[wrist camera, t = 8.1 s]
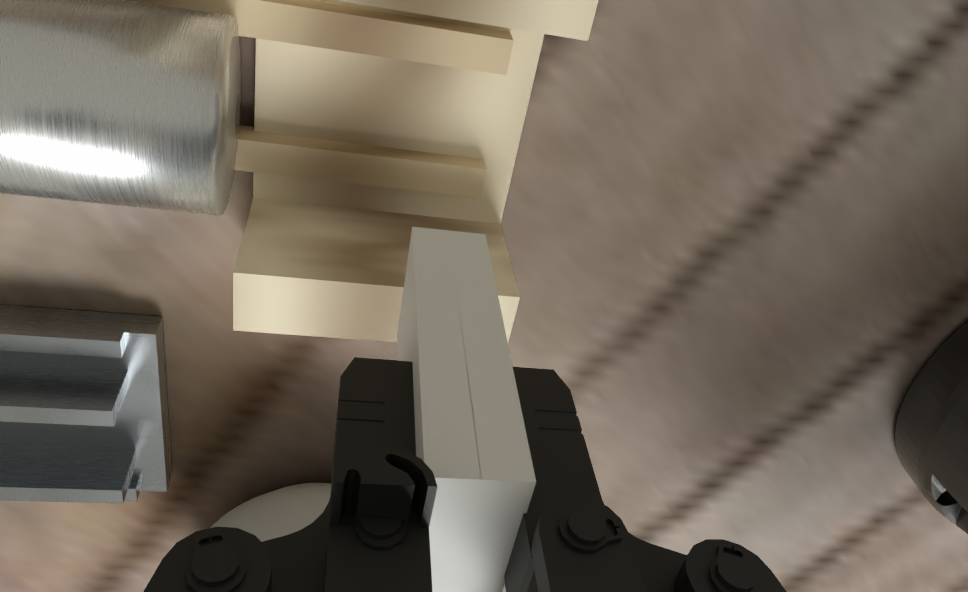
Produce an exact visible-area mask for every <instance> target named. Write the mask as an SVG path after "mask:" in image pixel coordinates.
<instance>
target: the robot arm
mask: <svg viewBox="0 0 968 592" xmlns="http://www.w3.org/2000/svg"><path fill="white" fill-rule="evenodd" d="M581 431H582V429H581V426H580V422H579V419H578V416H576V408H575V405H574V402H573V398H572V395H571V391H570V389H569V388H568V387H567V386H566V384H565V383H564V382H563V381H562V380H561V378H560V377H559V376H558V375H557V374H556V372H555V371H554V370H549V369H535V368H521V367H513V366H512V361H511V357H510V352H509V347H508V342H507V337H506V332H505V327H504V322H503V318H502V313H501V308H500V303H499V298H498V293H497V288H496V283H495V279H494V274H493V269H492V264H491V259H490V254H489V249H488V244H487V240H486V235H485V234H478V233H468V232H459V231H449V230H439V229H430V228H420V227H412V232H411V239H410V246H409V253H408V260H407V267H406V274H405V281H404V289H403V296H402V303H401V310H400V317H399V324H398V331H397V361H396V360H382V359H368V358H354V359H353V360H352V362H351V363H350V365H349V366H348V367H347V369H346V370H345V371H344V373H343V374H342V376H341V379H340V389H339V400H338V411H337V421H336V432H335V443H334V456H333V468H332V481H331V493H330V500H329V503H328V504H327V506H326V508H325V509H324V511H323V513H322V514H321V515H320V516H319V517H318V518H317V519H316V520H315V521H314V522H313V523H311V524H309V525H308V526H306V527H305V528H303V529H301V530H299V531H297V532H294V533H291V534H288V535H286V536H282V537H278V538H274V539H270V540H266V541H262V542H261V541H260V540H259V539H258V538H257V537H256V536H255V535H253V534H251V533H249V532H246V531H244V530H242V529H239V528H232V527H213V528H209V529H205V530H201V531H197V532H194V533H193V534H191V535H189V536H188V537H186V538H184V539H182V540H181V541H179V542H177V543H176V544H175V545H174V547H173V548H172V549H171V550H170V551H169V552H168V553H167V555H166V556H165V557H164V558H163V559H162V561H161V563H160V565H159V566H158V568H157V570H156V571H155V573H154V575H153V577H152V578H151V580H150V582H149V583H148V585H147V587H146V588H145V590H144V592H502V590H503V587H504V584H505V587H506V592H786V590H785V589H784V588H783V586H782V585H781V584H780V582H779V581H778V579H777V578H776V577H775V575H774V574H773V573H772V571H771V570H770V569H769V568H768V567H767V566H766V565H765V564H764V562H763V561H762V560H761V559H760V558H759V557H758V556H757V555H755V554H754V553H752V552H750V551H749V550H747V549H746V548H744V547H743V546H741V545H738V544H735V543H732V542H729V541H726V540H704V541H702V542H700V543H698V544H696V545H694V546H693V547H692V549H691V550H690V552H689V554H688V555H684V554H681V553H678V552H675V551H672V550H669V549H665V548H662V547H659V546H656V545H653V544H650V543H648V542H645V541H643V540H641V539H638V538H636V537H635V536H633V535H632V534H630V533H628V531H627V529H626V527H625V526H624V524H623V522H622V520H621V519H620V518H619V517H618V516H617V515H616V514H615V513H614V512H613V511H612V510H611V509H610V508H609V507H607V506H605V505H604V503H603V501H602V498H601V495H600V491H599V488H598V484H597V481H596V477H595V474H594V471H593V467H592V464H591V460H590V457H589V453H588V450H587V446H586V443H585V439H584V436H583V434H581ZM895 446H896V451H897V454H898V457H899V460H900V462H901V464H902V466H903V467H904V469H905V470H906V472H907V473H908V474H909V476H910V477H911V478H912V480H913V481H914V482H915V484H916V485H917V486H918V488H919V489H920V491H921V492H922V493H923V495H924V496H925V497H926V499H927V500H928V501H929V502H930V504H931V505H932V506H933V507H934V508H935V509H936V510H937V511H938V512H939V513H941V514H942V515H943V516H944V517H946V518H947V519H948V520H950V521H951V522H953V523H954V524H956V525H957V526H958V527H959V528H961V529H962V530H963V531H965V532H966V533H967V534H968V322H967V323H965V324H964V325H963V326H962V327H961V328H960V329H959V330H958V331H956V332H955V333H954V334H953V335H952V336H951V337H950V338H949V339H948V340H947V341H946V342H945V343H944V344H943V345H942V346H941V347H940V348H939V349H938V350H937V352H936V353H935V354H934V355H933V356H932V357H931V359H930V360H929V361H928V362H927V363H926V365H925V366H924V367H923V369H922V370H921V372H920V373H919V374H918V376H917V377H916V379H915V380H914V382H913V384H912V385H911V387H910V389H909V391H908V393H907V394H906V397H905V399H904V401H903V403H902V406H901V409H900V411H899V415H898V419H897V423H896V429H895Z"/></svg>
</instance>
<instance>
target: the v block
mask: <svg viewBox="0 0 968 592" xmlns="http://www.w3.org/2000/svg"><path fill="white" fill-rule="evenodd" d="M171 475H172V459H171V444H170V428H169V413H168V397H167V382H166V366H165V351H164V335H163V320H162V317H161V316H148V315H134V314H120V313H107V312H93V311H80V310H66V309H53V308H39V307H26V306H12V305H0V500H10V501H48V502H86V503H124V501H137V499H138V496H139V493H140V491H163V492H167V490H168V486H169V482H170V479H171Z"/></svg>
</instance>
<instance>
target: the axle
mask: <svg viewBox="0 0 968 592" xmlns="http://www.w3.org/2000/svg"><path fill="white" fill-rule="evenodd" d="M240 104H241V56H240V42H239V34H238V28H237V23H236V20H235V18H234V17H233V16H231V15H225V14H218V13H212V12H205V11H199V10H192V9H186V8H179V7H173V6H166V5H159V4H153V3H146V2H140V1H133V0H0V193H2V194H12V195H22V196H32V197H42V198H52V199H61V200H71V201H81V202H91V203H101V204H111V205H121V206H131V207H141V208H151V209H161V210H171V211H181V212H191V213H201V214H210V215H222V214H223V213H224V211H225V209H226V207H227V204H228V201H229V197H230V193H231V188H232V183H233V177H234V171H235V164H236V156H237V147H238V136H239V123H240Z"/></svg>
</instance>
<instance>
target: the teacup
mask: <svg viewBox="0 0 968 592" xmlns="http://www.w3.org/2000/svg"><path fill="white" fill-rule="evenodd" d="M330 493H331V483H304V484H297V485H292V486H287V487H284V488H281V489H278V490H275V491H272V492H269V493H266V494H263V495H260V496H258V497H255V498H253V499H251V500H249V501H247V502H244V503H242V504H240V505H239V506H237V507H235V508H234V509H232V510H231V511H229V512H228V513H227V514H225V515H224V516H223V517H221V518H220V519H219V520H218V521H217V522H216V523H214V524H213V525H212V526H211V527H210V528H213V527H232V528H239V529H242V530H244V531H246V532H249V533H251V534H253V535H255V536H256V537H257V538H258V539H259V540H260V541H261V542H262V541H266V540H270V539H274V538H278V537H282V536H286V535H288V534H291V533H294V532H297V531H299V530H301V529H303V528H305V527H306V526H308V525H309V524H311V523H313V522H314V521H315V520H316V519H317V518H318V517H319V516H320V515H321V514H322V513H323V511H324V509H325V508H326V506H327V504H328V503H329V500H330Z"/></svg>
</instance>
